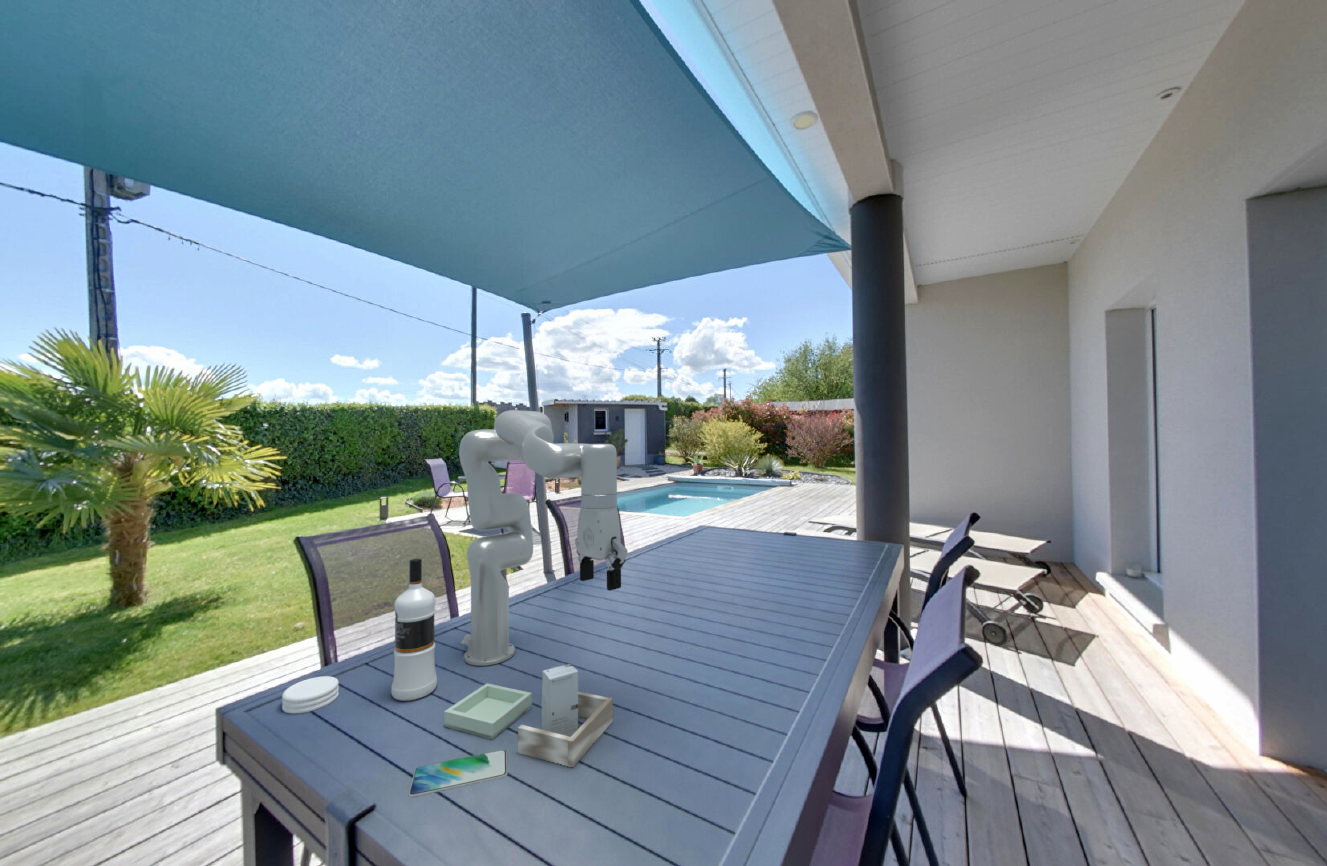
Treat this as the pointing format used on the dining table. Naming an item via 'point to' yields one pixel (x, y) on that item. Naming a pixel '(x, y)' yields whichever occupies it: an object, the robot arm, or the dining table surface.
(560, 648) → the dining table surface
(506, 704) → the tray
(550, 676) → the skincare box
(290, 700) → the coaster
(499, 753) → the smartphone
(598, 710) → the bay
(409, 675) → the vodka
